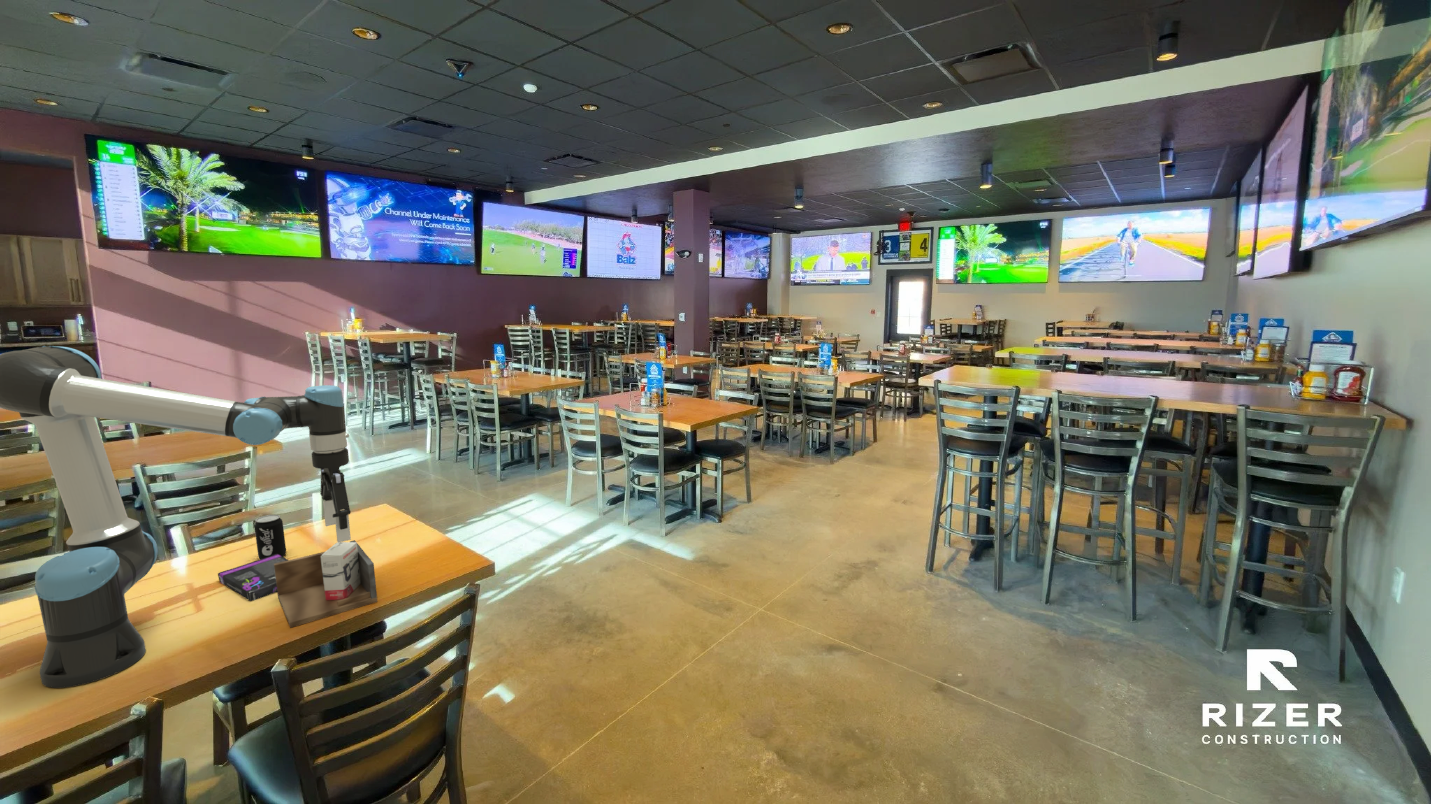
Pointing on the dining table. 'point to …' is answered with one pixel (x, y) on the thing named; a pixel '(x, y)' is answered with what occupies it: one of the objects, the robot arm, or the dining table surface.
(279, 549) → the beverage can
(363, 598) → the shelf
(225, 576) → the box
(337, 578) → the ink box
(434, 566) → the dining table surface
